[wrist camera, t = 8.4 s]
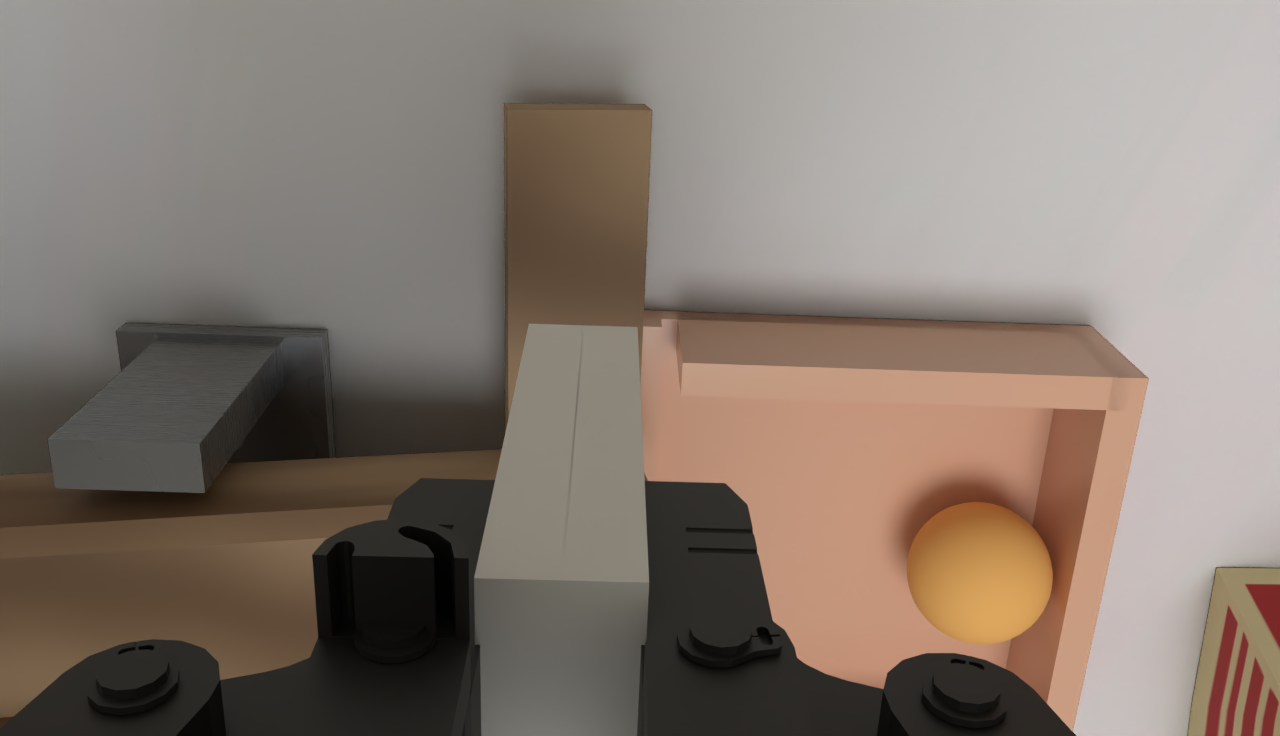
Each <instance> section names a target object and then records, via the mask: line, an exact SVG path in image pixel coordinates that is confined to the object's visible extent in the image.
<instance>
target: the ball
mask: <svg viewBox="0 0 1280 736" xmlns="http://www.w3.org/2000/svg"><path fill="white" fill-rule="evenodd" d="M907 580H908V585H909V589H910V592H911V595H912V598H913V600H914V602H915V604H916V606H917V608H918V609H919V611H920V612H921V613H922V615H923V616H924V617H925V618H926V619H927V620H928V621H929V622H930V623H931V624H932V625H933V626H934V627H935V628H936V629H938V630H939V631H941V632H942V633H944V634H946V635H948V636H949V637H952V638H954V639H957V640H959V641H962V642H966V643H972V644H994V643H1000V642H1004V641H1007V640H1010V639H1012V638H1014V637H1016V636H1018V635H1020V634H1022V633H1023V632H1024V631H1026V630H1027V629H1028V628H1030V627H1031V626H1032V625H1033V624H1034V623H1035V622H1036V621H1037V619H1038V618H1039V617H1040V615H1041V614H1042V613H1043V611H1044V609H1045V607H1046V605H1047V603H1048V600H1049V598H1050V594H1051V590H1052V582H1053V571H1052V564H1051V559H1050V556H1049V552H1048V550H1047V548H1046V545H1045V543H1044V542H1043V540H1042V538H1041V537H1040V535H1039V534H1038V533H1037V531H1036V530H1035V529H1034V528H1033V527H1032V526H1031V525H1030V524H1029V523H1028V522H1027V521H1026V520H1025V519H1024V518H1022V517H1021V516H1019V515H1018V514H1016V513H1015V512H1013V511H1011V510H1009V509H1007V508H1004V507H1002V506H998V505H995V504H990V503H985V502H969V503H962V504H958V505H954V506H951V507H949V508H946V509H944V510H942V511H941V512H939V513H937V514H936V515H934V516H933V517H932V518H931V519H930V520H928V521H927V522H926V523H925V524H924V525H923V527H922V528H921V529H920V530H919V532H918V533H917V535H916V537H915V538H914V540H913V543H912V545H911V548H910V551H909V555H908V560H907Z"/></svg>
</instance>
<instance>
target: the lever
mask: <svg viewBox="0 0 1280 736" xmlns="http://www.w3.org/2000/svg"><path fill="white" fill-rule="evenodd" d="M651 129H652V110H651V109H650V108H649V107H647V106H646V105H645V104H546V103H504V239H505V432H506V428H507V423H508V419H509V414H510V409H511V405H512V400H513V395H514V391H515V386H516V382H517V377H518V372H519V368H520V363H521V358H522V354H523V349H524V344H525V340H526V335H527V331H528V326H529V324H557V325H589V326H621V327H638V348H639V370H640V389H641V365H642V342H643V318H644V294H645V271H646V247H647V223H648V200H649V176H650V153H651ZM501 451H502V449H498V450H479V451H459V452H440V453H420V454H401V455H381V456H362V457H342V458H323V459H303V460H284V461H264V462H245V463H226V465H225V466H224V467H223V469H222V470H221V472H220V473H219V474H218V476H217V477H216V479H215V480H214V481H213V483H212V484H211V485H210V487H209V488H208V490H207V491H206V492H205V493H187V492H155V491H123V490H91V489H59V488H55V483H54V477H53V472H49V473H30V474H10V475H0V728H1V727H2V726H3V725H5V724H6V723H7V722H8V721H9V720H10V719H11V718H13V717H14V716H15V715H16V714H17V713H18V712H19V711H21V710H22V709H23V708H24V707H25V706H26V705H27V704H29V703H30V702H31V701H32V700H33V699H34V698H35V697H36V696H38V695H39V694H40V693H41V692H42V691H43V690H44V689H46V688H47V687H48V686H49V685H50V684H51V683H52V682H54V681H55V680H56V679H57V678H58V677H59V676H60V675H62V674H63V673H64V672H65V671H67V670H69V669H70V668H72V667H73V666H75V665H76V664H78V663H79V662H81V661H82V660H84V659H85V658H87V657H88V656H91V655H93V654H96V653H99V652H101V651H104V650H107V649H109V648H112V647H115V646H117V645H120V644H125V643H129V642H134V641H135V642H138V641H141V640H150V639H159V640H180V641H184V642H187V643H190V644H193V645H196V646H199V647H202V648H205V649H206V650H207V651H208V652H209V653H210V654H211V655H212V656H213V657H214V658H215V659H216V660H217V661H218V663H219V672H220V680H223V679H229V678H235V677H240V676H246V675H251V674H257V673H262V672H267V671H271V670H275V669H279V668H283V667H287V666H290V665H292V664H295V663H297V662H300V661H302V660H305V659H307V658H310V656H311V653H312V651H313V649H314V646H315V644H316V641H317V639H318V628H317V614H316V601H315V587H314V574H313V560H312V554H313V553H314V552H315V551H316V550H317V548H318V547H319V546H320V545H321V544H322V543H323V542H324V540H326V539H327V538H329V537H331V536H333V535H335V534H337V533H339V532H340V531H342V530H344V529H346V528H349V527H353V526H356V525H360V524H364V523H368V522H371V521H377V520H387V518H388V516H389V513H390V510H391V508H392V505H393V503H394V500H395V498H397V497H398V496H399V495H400V494H402V493H403V492H404V491H405V490H407V489H408V488H409V487H410V486H412V485H413V484H414V483H415V482H417V481H418V480H419V479H420V478H436V479H473V480H495V479H496V474H497V470H498V465H499V460H500V456H501ZM644 479H645V481H648V480H647V477H646V475H645V473H644Z"/></svg>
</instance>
